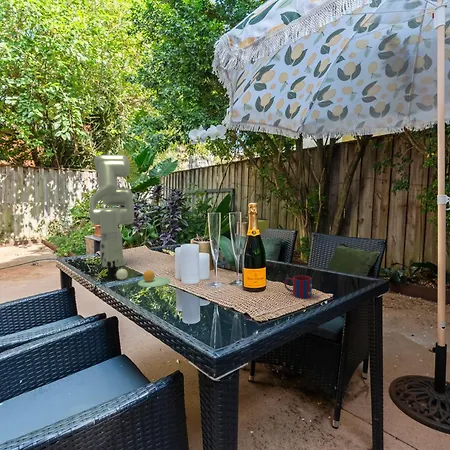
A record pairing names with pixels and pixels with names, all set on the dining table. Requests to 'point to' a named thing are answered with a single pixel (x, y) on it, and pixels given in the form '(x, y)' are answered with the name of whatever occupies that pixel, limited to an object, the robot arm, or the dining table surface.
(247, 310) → the dining table surface
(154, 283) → the mint mark
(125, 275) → the ivory ball
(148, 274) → the orange ball
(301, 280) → the mug
